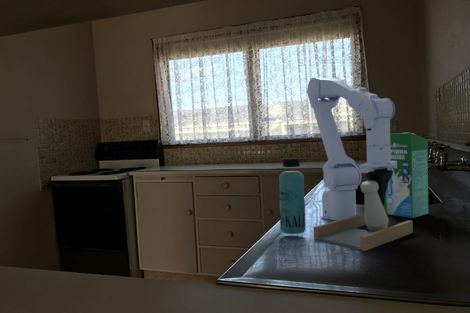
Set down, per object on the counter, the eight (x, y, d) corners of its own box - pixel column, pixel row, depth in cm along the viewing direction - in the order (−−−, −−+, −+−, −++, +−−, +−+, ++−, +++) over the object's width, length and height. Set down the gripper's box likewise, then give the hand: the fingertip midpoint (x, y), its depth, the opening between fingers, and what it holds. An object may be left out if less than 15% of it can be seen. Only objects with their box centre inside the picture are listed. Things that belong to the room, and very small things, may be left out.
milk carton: (428, 213, 115) (427, 131, 114) (412, 218, 110) (410, 132, 109) (401, 209, 123) (399, 132, 121) (384, 213, 118) (382, 133, 116)
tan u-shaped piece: (314, 239, 93) (313, 226, 93) (363, 224, 106) (363, 213, 106) (364, 251, 82) (364, 237, 82) (412, 232, 95) (412, 220, 94)
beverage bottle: (287, 232, 100) (284, 157, 99) (310, 235, 96) (308, 157, 95) (275, 238, 95) (272, 158, 94) (299, 241, 91) (296, 158, 90)
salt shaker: (392, 232, 94) (382, 183, 92) (368, 236, 95) (358, 188, 93) (387, 222, 100) (378, 176, 97) (364, 226, 101) (355, 180, 99)
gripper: (377, 147, 89) (378, 203, 90) (407, 144, 98) (408, 196, 99) (351, 147, 95) (352, 200, 96) (382, 144, 104) (383, 193, 105)
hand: (379, 198), depth 98 cm, fingers closed
